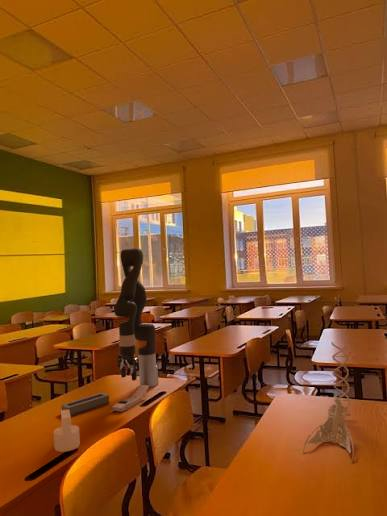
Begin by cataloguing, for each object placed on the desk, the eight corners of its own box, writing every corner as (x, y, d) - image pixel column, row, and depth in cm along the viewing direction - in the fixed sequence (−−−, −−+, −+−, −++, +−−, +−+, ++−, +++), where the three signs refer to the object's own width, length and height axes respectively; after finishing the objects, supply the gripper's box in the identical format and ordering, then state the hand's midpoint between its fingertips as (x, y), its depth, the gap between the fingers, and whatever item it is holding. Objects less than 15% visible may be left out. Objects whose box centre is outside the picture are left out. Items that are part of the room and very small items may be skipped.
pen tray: (102, 400, 201) (101, 392, 201) (109, 403, 197) (108, 395, 197) (61, 413, 187) (61, 404, 187) (68, 416, 182) (68, 407, 182)
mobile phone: (150, 385, 203) (118, 401, 181) (151, 397, 203) (119, 415, 181) (140, 384, 206) (107, 400, 184) (141, 396, 206) (108, 413, 184)
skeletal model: (301, 454, 137) (311, 387, 153) (307, 466, 142) (316, 400, 159) (352, 463, 129) (356, 391, 145) (357, 475, 134) (360, 404, 151)
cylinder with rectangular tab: (54, 443, 155) (52, 412, 155) (78, 438, 158) (77, 407, 159) (55, 453, 147) (53, 420, 147) (80, 448, 150) (79, 415, 150)
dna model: (349, 411, 171) (345, 339, 171) (353, 417, 164) (349, 343, 164) (332, 412, 171) (328, 340, 171) (336, 418, 165) (332, 343, 165)
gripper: (142, 344, 191) (144, 379, 191) (125, 341, 201) (126, 374, 201) (129, 347, 186) (131, 383, 186) (112, 344, 196) (113, 378, 196)
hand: (128, 378), depth 193 cm, fingers open, 8 cm apart
